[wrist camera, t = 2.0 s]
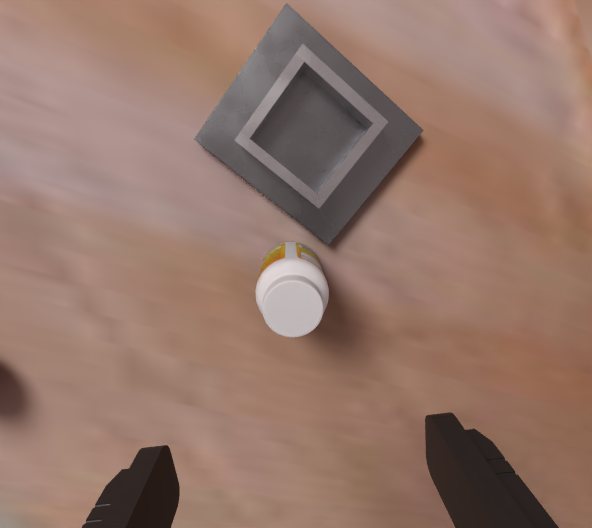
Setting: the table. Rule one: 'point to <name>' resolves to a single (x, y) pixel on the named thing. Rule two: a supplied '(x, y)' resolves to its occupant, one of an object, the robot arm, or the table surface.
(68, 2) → the table surface
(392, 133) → the plate
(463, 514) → the robot arm
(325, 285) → the supplement bottle
